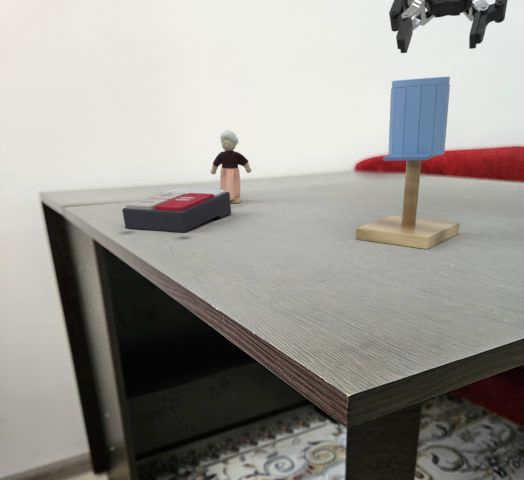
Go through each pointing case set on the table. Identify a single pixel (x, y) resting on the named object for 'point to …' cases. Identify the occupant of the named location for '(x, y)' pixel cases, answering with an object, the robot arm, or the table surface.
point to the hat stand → (409, 220)
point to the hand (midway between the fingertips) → (436, 45)
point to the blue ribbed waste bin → (418, 118)
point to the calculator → (177, 209)
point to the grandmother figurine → (230, 166)
